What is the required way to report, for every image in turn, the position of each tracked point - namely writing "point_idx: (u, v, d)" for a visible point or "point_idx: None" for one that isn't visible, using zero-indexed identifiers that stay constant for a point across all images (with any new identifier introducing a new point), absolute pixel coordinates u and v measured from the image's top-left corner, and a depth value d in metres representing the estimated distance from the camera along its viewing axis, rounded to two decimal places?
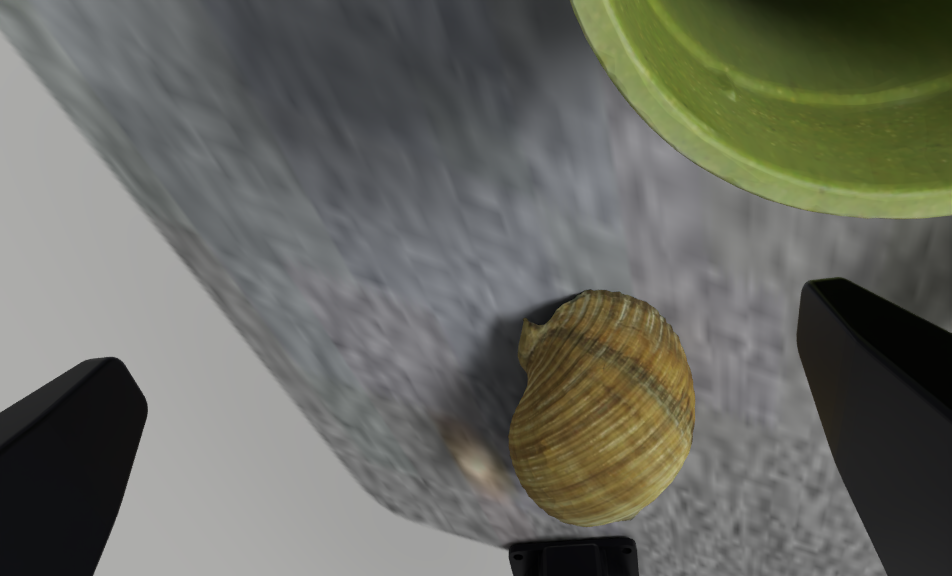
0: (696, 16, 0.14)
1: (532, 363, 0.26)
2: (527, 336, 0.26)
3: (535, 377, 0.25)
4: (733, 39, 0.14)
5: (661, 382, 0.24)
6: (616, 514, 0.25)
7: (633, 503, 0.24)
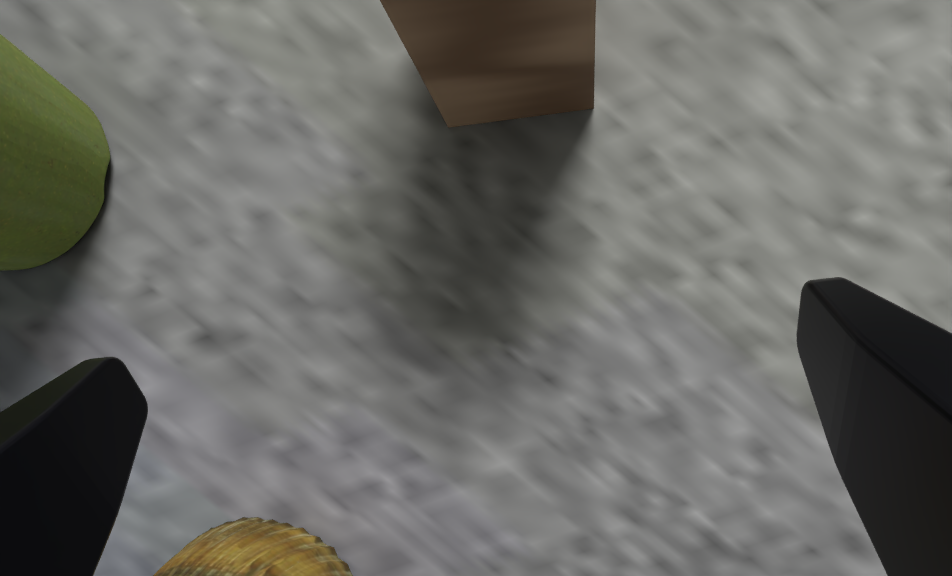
0: None
1: None
2: None
3: None
4: None
5: (213, 567, 0.19)
6: None
7: None
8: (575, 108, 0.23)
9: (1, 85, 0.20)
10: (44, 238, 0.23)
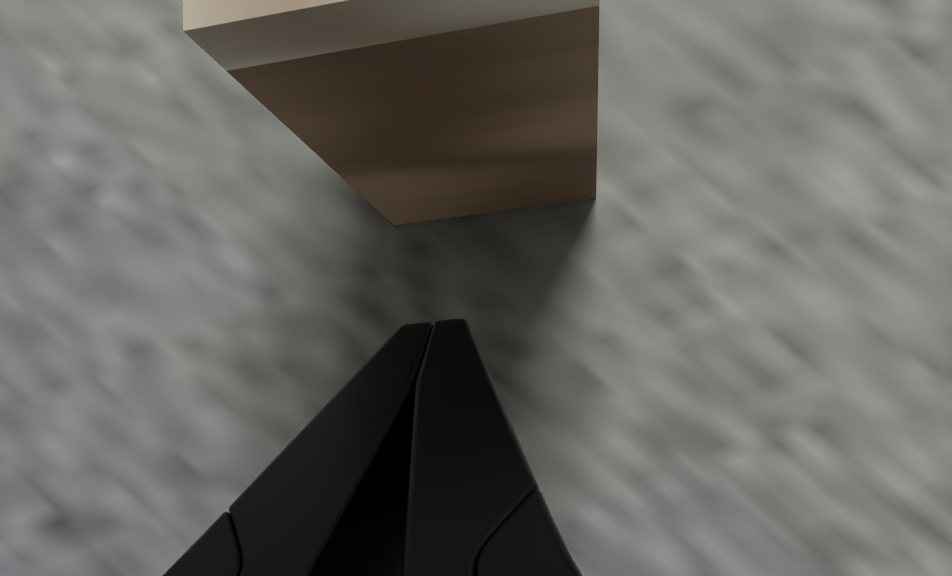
0: None
1: None
2: None
3: None
4: None
5: None
6: None
7: None
8: (570, 198, 0.16)
9: None
10: None
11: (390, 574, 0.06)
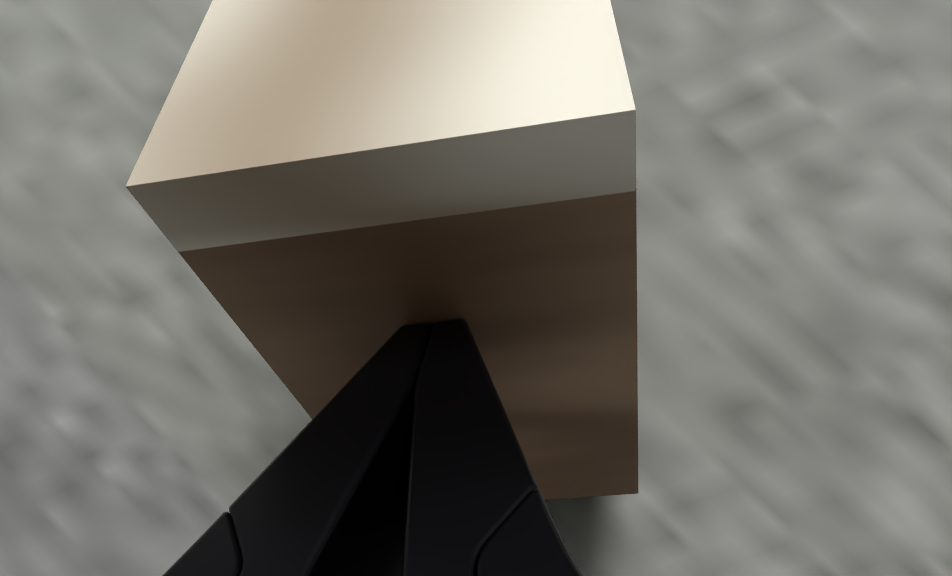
0: None
1: None
2: None
3: None
4: None
5: None
6: None
7: None
8: (605, 491, 0.13)
9: None
10: None
11: (390, 574, 0.06)
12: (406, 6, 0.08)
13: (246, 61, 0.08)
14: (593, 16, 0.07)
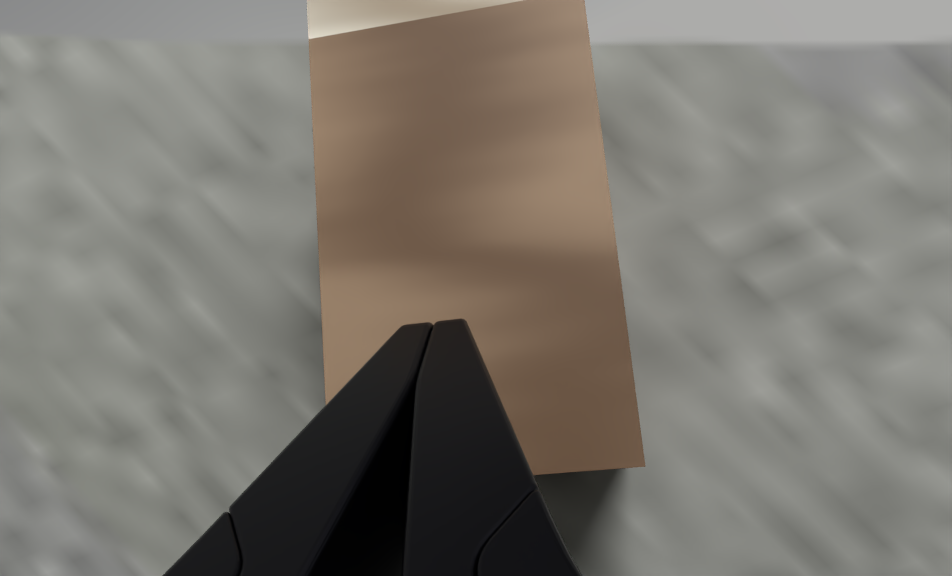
0: None
1: None
2: None
3: None
4: None
5: None
6: None
7: None
8: (603, 453, 0.10)
9: None
10: None
11: (390, 574, 0.06)
12: None
13: None
14: None
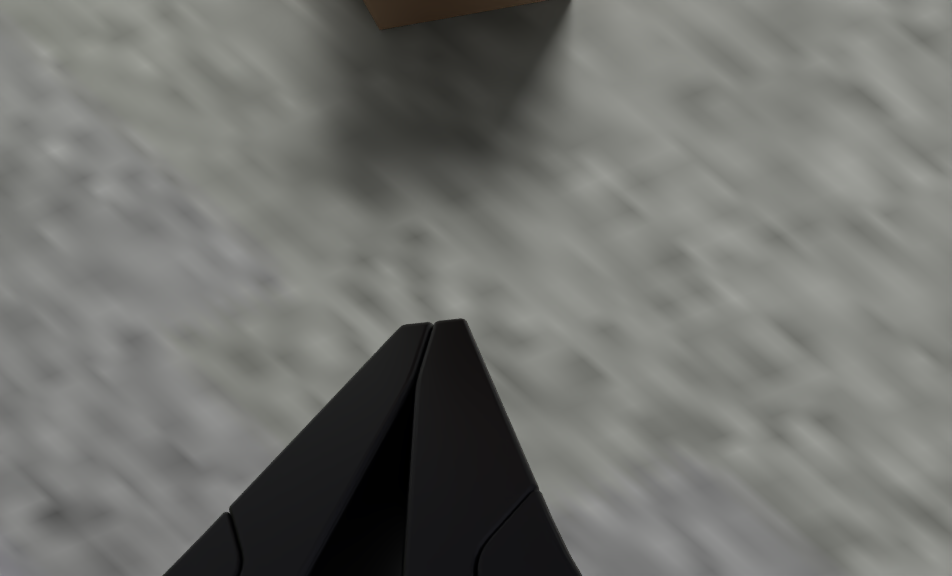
0: None
1: None
2: None
3: None
4: None
5: None
6: None
7: None
8: None
9: None
10: None
11: (390, 574, 0.06)
12: None
13: None
14: None
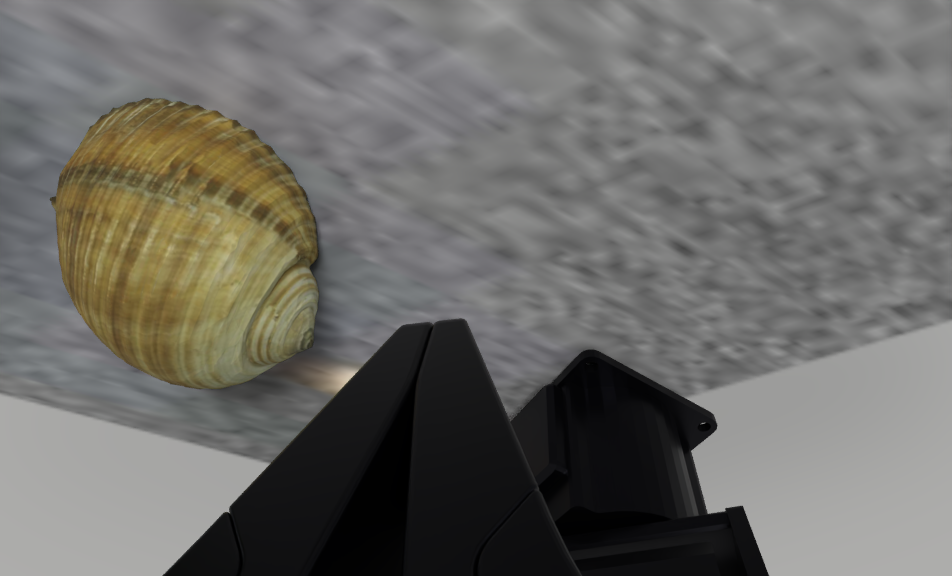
0: None
1: None
2: None
3: None
4: None
5: (129, 167, 0.19)
6: (189, 344, 0.19)
7: (190, 321, 0.19)
8: None
9: None
10: None
11: (390, 574, 0.06)
12: None
13: None
14: None
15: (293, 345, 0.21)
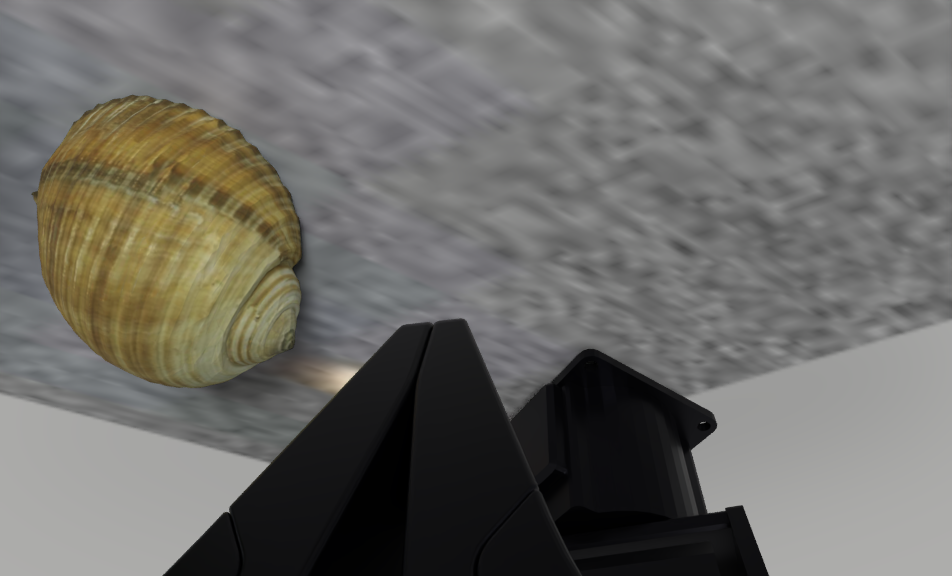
0: None
1: None
2: None
3: None
4: None
5: (112, 164, 0.19)
6: (168, 344, 0.19)
7: (170, 320, 0.19)
8: None
9: None
10: None
11: (390, 574, 0.06)
12: None
13: None
14: None
15: (274, 346, 0.21)
